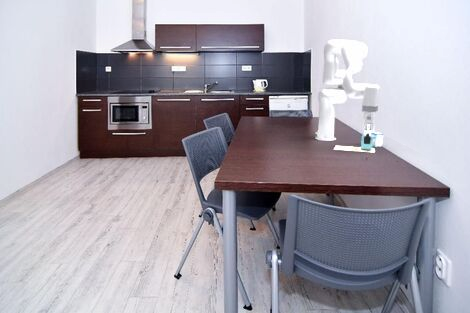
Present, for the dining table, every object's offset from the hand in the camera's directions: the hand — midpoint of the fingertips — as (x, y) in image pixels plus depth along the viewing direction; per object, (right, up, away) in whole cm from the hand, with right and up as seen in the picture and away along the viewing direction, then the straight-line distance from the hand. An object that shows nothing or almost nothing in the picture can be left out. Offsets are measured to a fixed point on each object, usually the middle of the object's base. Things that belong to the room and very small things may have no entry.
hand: (367, 142), depth 196 cm
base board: (-6, -5, +3) cm, 8 cm away
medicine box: (+9, -3, +14) cm, 17 cm away
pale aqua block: (0, -3, +1) cm, 3 cm away
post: (0, -4, +1) cm, 4 cm away
